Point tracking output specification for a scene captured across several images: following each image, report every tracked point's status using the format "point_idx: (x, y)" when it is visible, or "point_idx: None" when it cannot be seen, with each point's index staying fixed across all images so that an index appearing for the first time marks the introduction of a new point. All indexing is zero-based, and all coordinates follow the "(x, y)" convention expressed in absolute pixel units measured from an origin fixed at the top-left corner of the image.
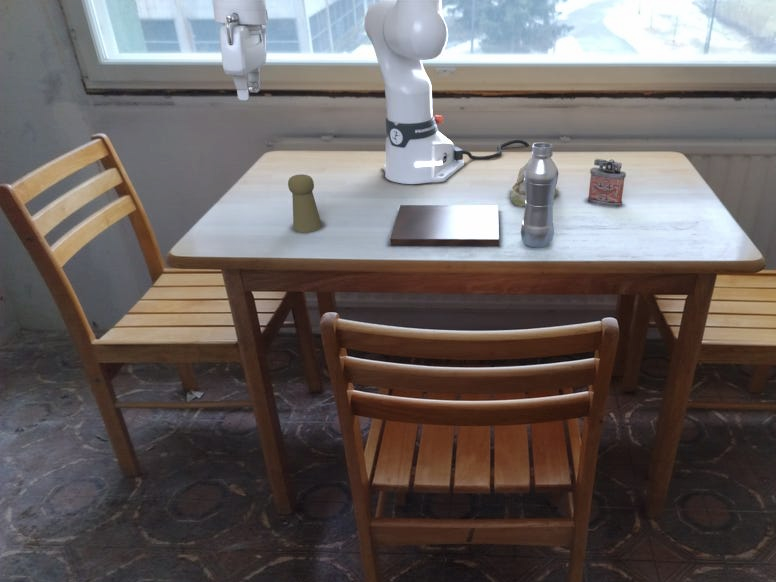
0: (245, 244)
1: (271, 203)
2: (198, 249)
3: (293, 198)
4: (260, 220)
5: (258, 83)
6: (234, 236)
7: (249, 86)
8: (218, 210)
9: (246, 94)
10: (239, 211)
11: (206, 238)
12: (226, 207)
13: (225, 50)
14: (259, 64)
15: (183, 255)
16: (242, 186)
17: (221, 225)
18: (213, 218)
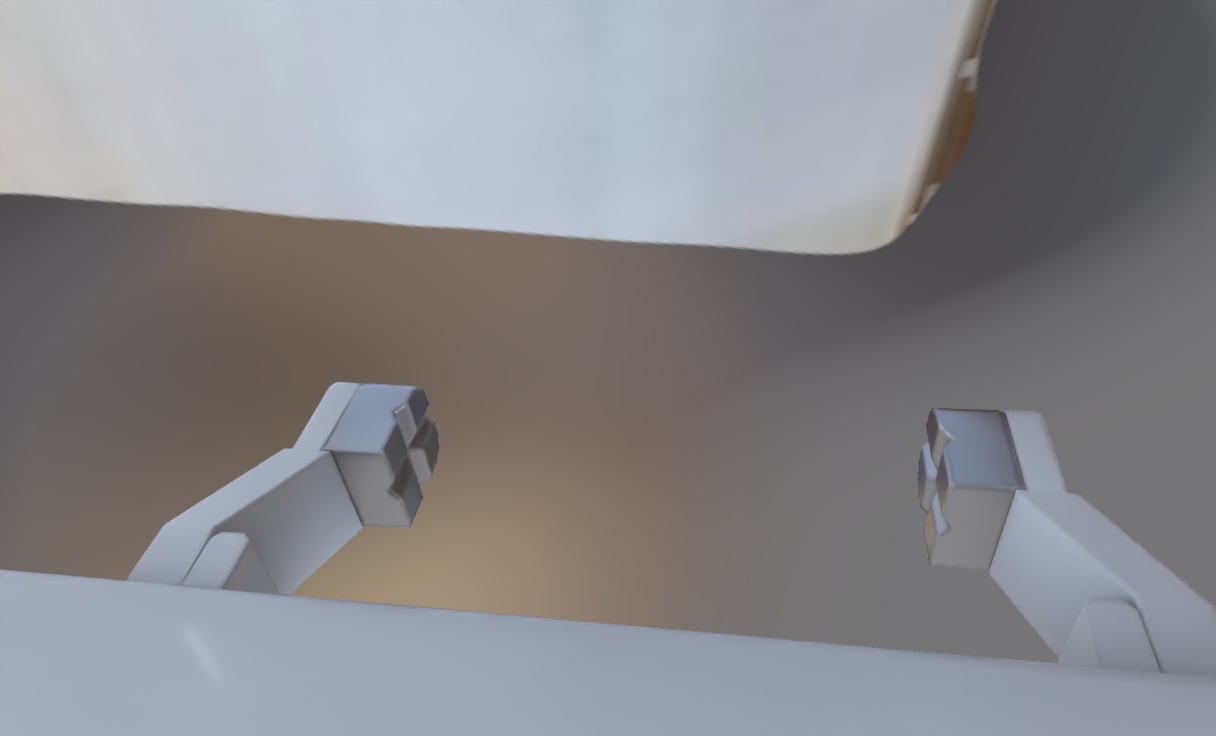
0: (827, 17)
1: (313, 16)
2: (844, 196)
3: None
4: (537, 18)
5: (346, 442)
6: (726, 91)
7: (418, 488)
8: (443, 225)
9: (1050, 460)
10: (440, 142)
11: (736, 195)
12: (405, 204)
13: None
14: (339, 625)
15: (891, 231)
16: (154, 201)
17: (602, 174)
18: (529, 222)
